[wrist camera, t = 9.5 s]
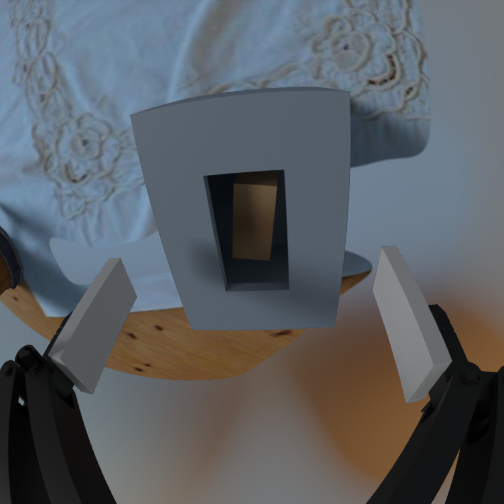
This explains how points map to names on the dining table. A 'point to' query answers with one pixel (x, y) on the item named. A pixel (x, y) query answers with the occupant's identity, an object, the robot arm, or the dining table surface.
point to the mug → (9, 264)
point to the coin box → (221, 202)
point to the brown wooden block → (254, 214)
